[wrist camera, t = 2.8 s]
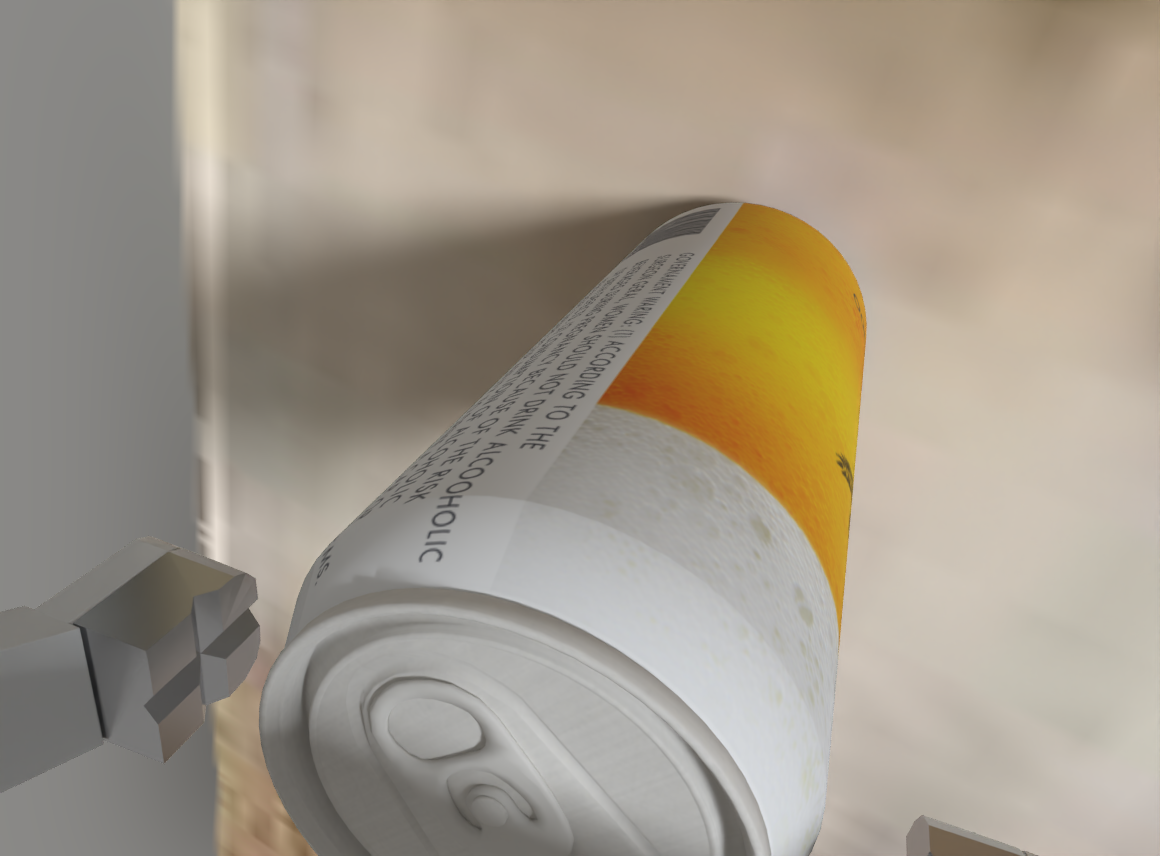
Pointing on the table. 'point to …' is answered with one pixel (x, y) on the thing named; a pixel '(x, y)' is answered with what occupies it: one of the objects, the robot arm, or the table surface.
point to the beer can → (601, 580)
